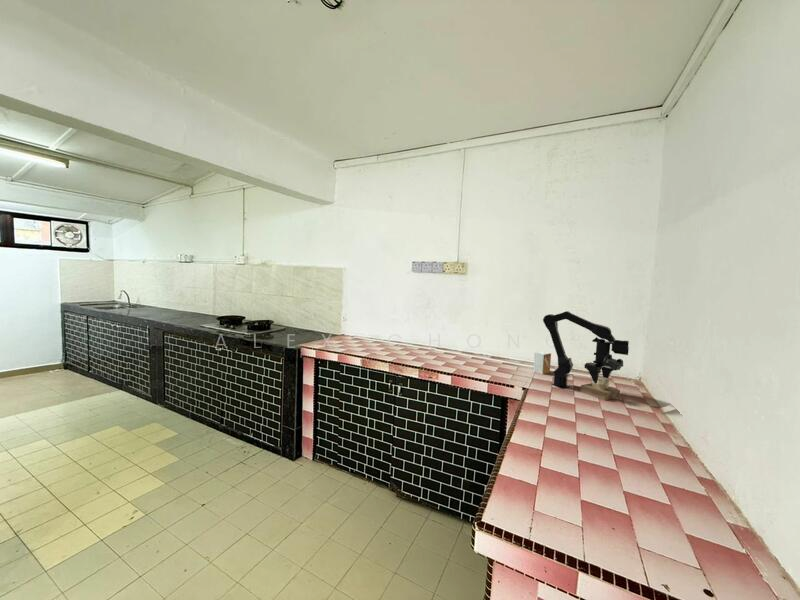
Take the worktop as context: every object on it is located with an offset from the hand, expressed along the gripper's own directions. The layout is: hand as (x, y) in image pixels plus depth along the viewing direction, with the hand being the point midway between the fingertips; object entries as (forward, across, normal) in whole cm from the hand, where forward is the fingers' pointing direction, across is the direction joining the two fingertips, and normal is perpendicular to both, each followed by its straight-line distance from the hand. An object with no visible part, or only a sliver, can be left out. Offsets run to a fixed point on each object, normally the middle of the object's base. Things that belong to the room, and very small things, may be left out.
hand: (600, 382), depth 153 cm
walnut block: (+7, 0, 0) cm, 7 cm away
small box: (+6, +2, +36) cm, 37 cm away
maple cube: (+3, 0, 0) cm, 3 cm away
